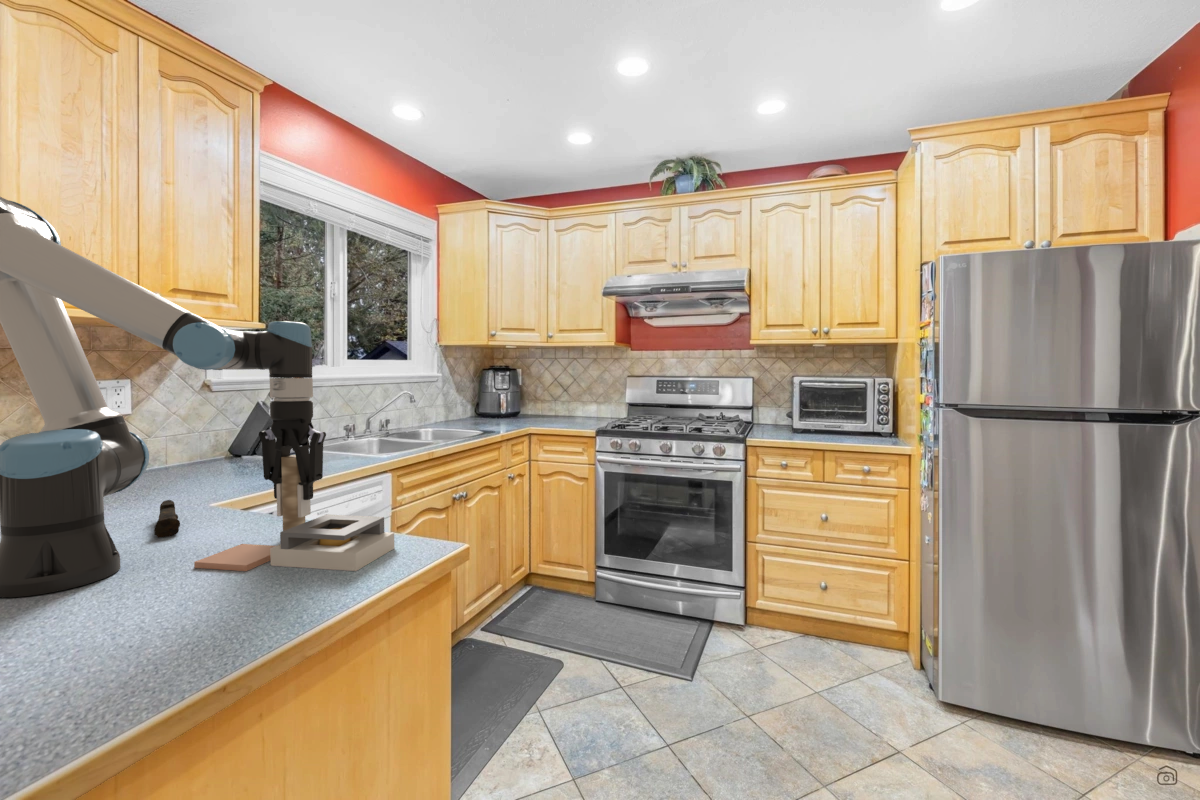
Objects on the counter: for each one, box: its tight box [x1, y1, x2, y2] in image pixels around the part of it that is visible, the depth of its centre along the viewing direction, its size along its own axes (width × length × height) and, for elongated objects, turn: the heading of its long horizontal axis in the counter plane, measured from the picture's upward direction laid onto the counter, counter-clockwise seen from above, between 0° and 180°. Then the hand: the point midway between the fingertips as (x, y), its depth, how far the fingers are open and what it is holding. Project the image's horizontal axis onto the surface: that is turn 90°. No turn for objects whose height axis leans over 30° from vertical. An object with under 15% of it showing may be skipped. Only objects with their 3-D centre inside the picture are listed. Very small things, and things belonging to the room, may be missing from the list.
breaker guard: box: [270, 513, 395, 572], centre depth 98 cm, size 16×12×6 cm
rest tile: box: [193, 543, 276, 572], centre depth 96 cm, size 10×10×1 cm
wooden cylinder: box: [281, 454, 306, 531], centre depth 110 cm, size 4×4×16 cm
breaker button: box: [319, 528, 350, 546], centre depth 98 cm, size 5×5×3 cm
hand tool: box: [154, 499, 181, 539], centre depth 117 cm, size 19×4×5 cm, turn 36°
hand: (294, 514), depth 110 cm, fingers closed on wooden cylinder, 4 cm apart
